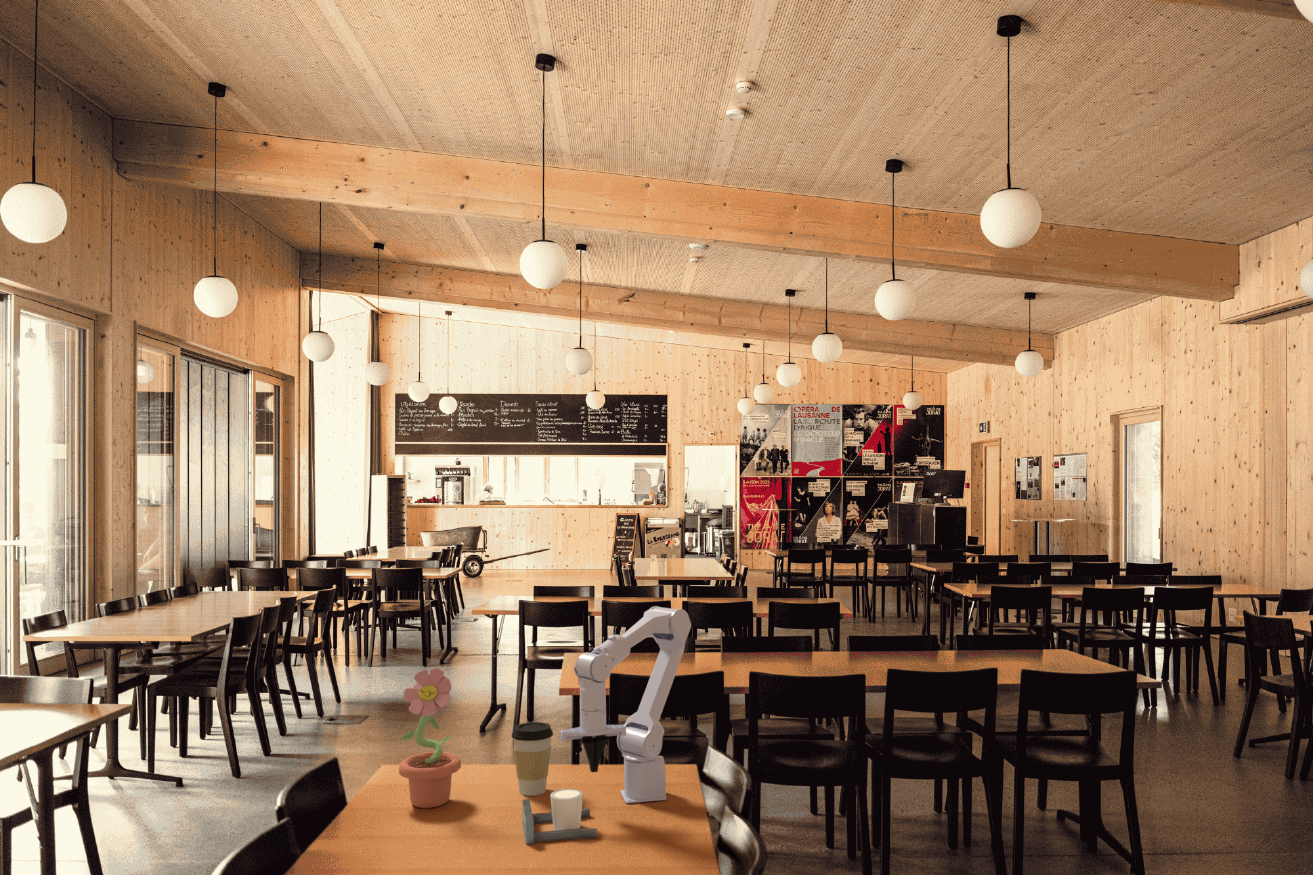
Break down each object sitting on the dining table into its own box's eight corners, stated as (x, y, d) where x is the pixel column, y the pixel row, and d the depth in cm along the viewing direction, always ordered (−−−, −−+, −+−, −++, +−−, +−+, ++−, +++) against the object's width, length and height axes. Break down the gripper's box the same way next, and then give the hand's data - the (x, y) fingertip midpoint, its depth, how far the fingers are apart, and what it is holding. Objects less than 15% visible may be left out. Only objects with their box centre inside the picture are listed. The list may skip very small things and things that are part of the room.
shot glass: (567, 836, 181) (567, 801, 182) (543, 828, 186) (543, 794, 186) (589, 826, 187) (589, 792, 187) (566, 818, 191) (566, 785, 191)
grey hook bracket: (589, 814, 193) (589, 793, 194) (598, 838, 180) (598, 816, 180) (522, 820, 190) (522, 798, 191) (526, 845, 177) (526, 822, 177)
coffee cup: (557, 784, 213) (557, 721, 214) (548, 798, 203) (548, 732, 204) (517, 783, 214) (517, 721, 215) (506, 797, 204) (506, 732, 205)
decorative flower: (383, 812, 196) (384, 675, 198) (410, 791, 210) (410, 663, 211) (446, 815, 194) (447, 677, 196) (469, 793, 207) (469, 664, 209)
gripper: (620, 701, 201) (621, 762, 200) (557, 706, 197) (558, 768, 196) (628, 708, 194) (628, 771, 193) (562, 714, 190) (563, 778, 190)
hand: (593, 770), depth 195 cm, fingers closed
